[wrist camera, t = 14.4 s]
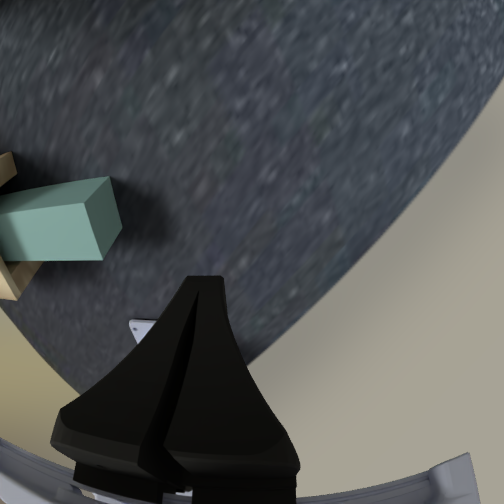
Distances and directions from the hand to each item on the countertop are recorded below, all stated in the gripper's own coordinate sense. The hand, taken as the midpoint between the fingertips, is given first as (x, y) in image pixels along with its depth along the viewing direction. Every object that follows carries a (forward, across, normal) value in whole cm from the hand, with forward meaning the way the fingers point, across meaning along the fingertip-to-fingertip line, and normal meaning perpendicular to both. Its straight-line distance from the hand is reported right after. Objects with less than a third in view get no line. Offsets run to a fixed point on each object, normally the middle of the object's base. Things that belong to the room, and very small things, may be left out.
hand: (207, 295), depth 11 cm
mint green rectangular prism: (+9, +14, 0) cm, 16 cm away
